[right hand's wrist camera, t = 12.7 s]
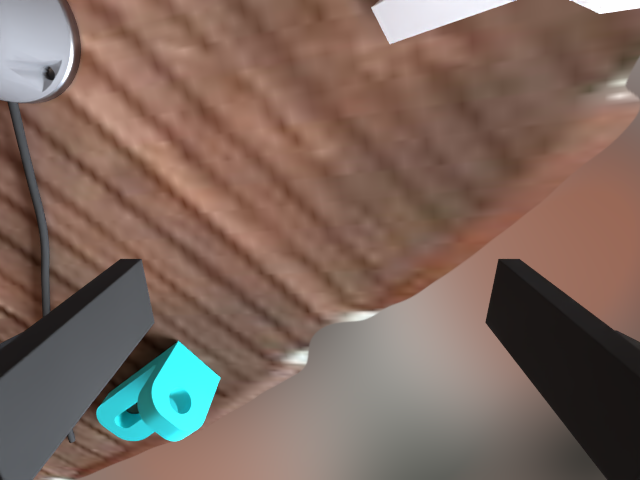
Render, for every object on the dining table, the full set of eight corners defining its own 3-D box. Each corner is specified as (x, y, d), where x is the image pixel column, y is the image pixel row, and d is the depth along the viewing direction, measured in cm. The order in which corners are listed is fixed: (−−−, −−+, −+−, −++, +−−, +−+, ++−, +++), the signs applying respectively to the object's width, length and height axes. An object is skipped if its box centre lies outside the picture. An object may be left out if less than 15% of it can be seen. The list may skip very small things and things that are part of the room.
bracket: (178, 341, 54) (142, 400, 43) (220, 377, 57) (196, 442, 46) (97, 400, 58) (46, 468, 47) (140, 432, 61) (100, 503, 50)
